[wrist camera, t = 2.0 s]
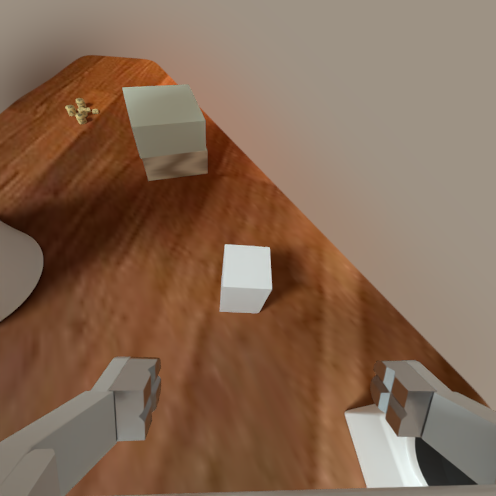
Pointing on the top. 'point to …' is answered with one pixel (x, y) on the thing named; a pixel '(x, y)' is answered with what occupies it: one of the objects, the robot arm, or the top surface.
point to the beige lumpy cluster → (80, 111)
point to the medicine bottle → (397, 454)
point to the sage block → (165, 120)
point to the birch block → (176, 165)
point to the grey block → (245, 278)
